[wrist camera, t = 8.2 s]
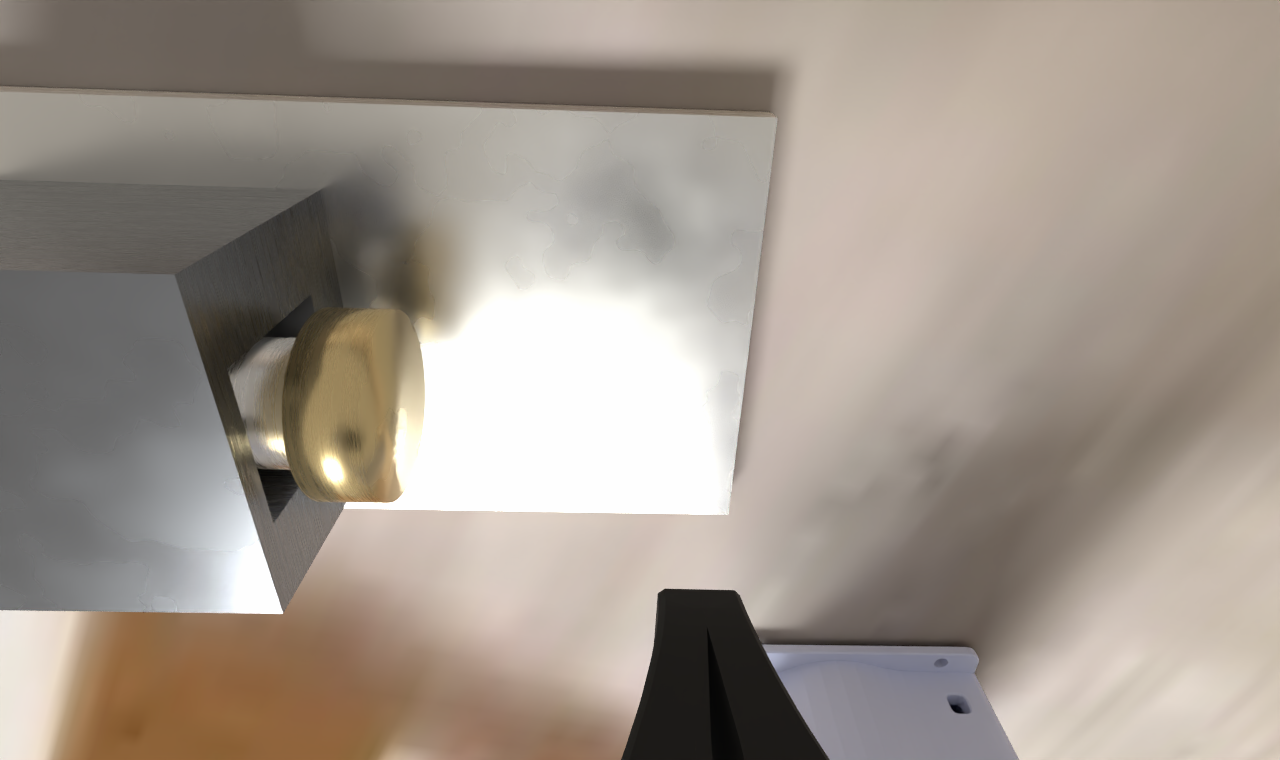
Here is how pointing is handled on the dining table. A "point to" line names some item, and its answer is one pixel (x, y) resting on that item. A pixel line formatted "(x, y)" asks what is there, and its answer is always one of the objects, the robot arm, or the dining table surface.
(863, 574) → the dining table surface
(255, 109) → the bearing block
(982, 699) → the robot arm
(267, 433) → the shaft
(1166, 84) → the dining table surface
